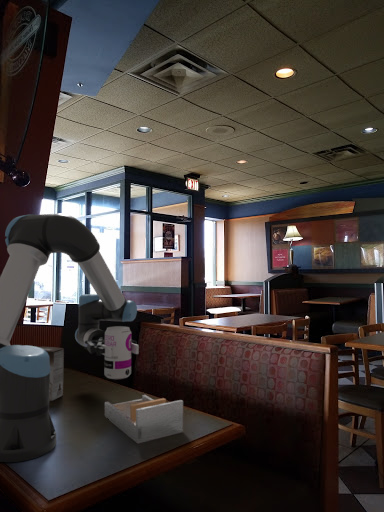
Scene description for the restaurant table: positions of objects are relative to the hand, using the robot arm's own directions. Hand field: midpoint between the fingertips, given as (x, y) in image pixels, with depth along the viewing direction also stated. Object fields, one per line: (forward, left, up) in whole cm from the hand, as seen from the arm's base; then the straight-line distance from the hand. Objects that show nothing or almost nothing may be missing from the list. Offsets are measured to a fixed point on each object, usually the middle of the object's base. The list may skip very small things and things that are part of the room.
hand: (124, 351), depth 121 cm
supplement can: (+2, +4, -9) cm, 10 cm away
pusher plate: (-6, -15, -17) cm, 23 cm away
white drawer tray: (-4, -12, -18) cm, 22 cm away
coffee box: (-6, +30, -18) cm, 36 cm away
